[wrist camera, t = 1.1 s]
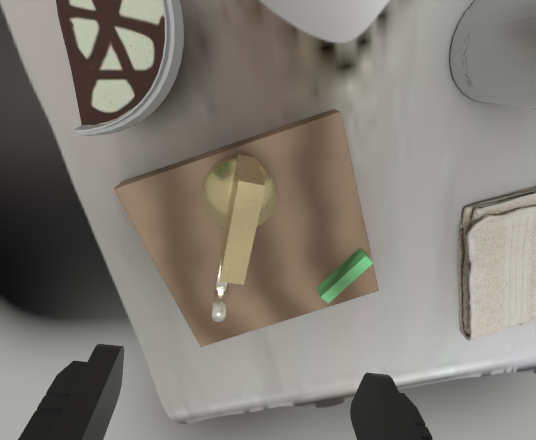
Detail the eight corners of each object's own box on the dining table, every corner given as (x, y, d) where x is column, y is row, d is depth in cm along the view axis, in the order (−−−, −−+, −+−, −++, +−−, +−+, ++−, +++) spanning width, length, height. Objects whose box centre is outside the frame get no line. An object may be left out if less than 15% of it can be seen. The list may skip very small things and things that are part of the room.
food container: (202, 121, 28) (186, 143, 19) (127, 119, 28) (75, 141, 19) (193, -60, 23) (167, -145, 14) (102, -66, 23) (14, -159, 14)
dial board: (333, 109, 29) (346, 113, 26) (371, 279, 37) (385, 300, 33) (121, 182, 30) (107, 195, 27) (202, 333, 38) (199, 358, 34)
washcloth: (563, 172, 34) (593, 181, 31) (549, 305, 42) (572, 322, 39) (451, 204, 34) (471, 216, 32) (456, 331, 42) (473, 349, 39)
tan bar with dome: (210, 143, 27) (200, 173, 19) (282, 157, 28) (301, 191, 20) (189, 290, 32) (173, 364, 24) (249, 297, 33) (253, 370, 25)
